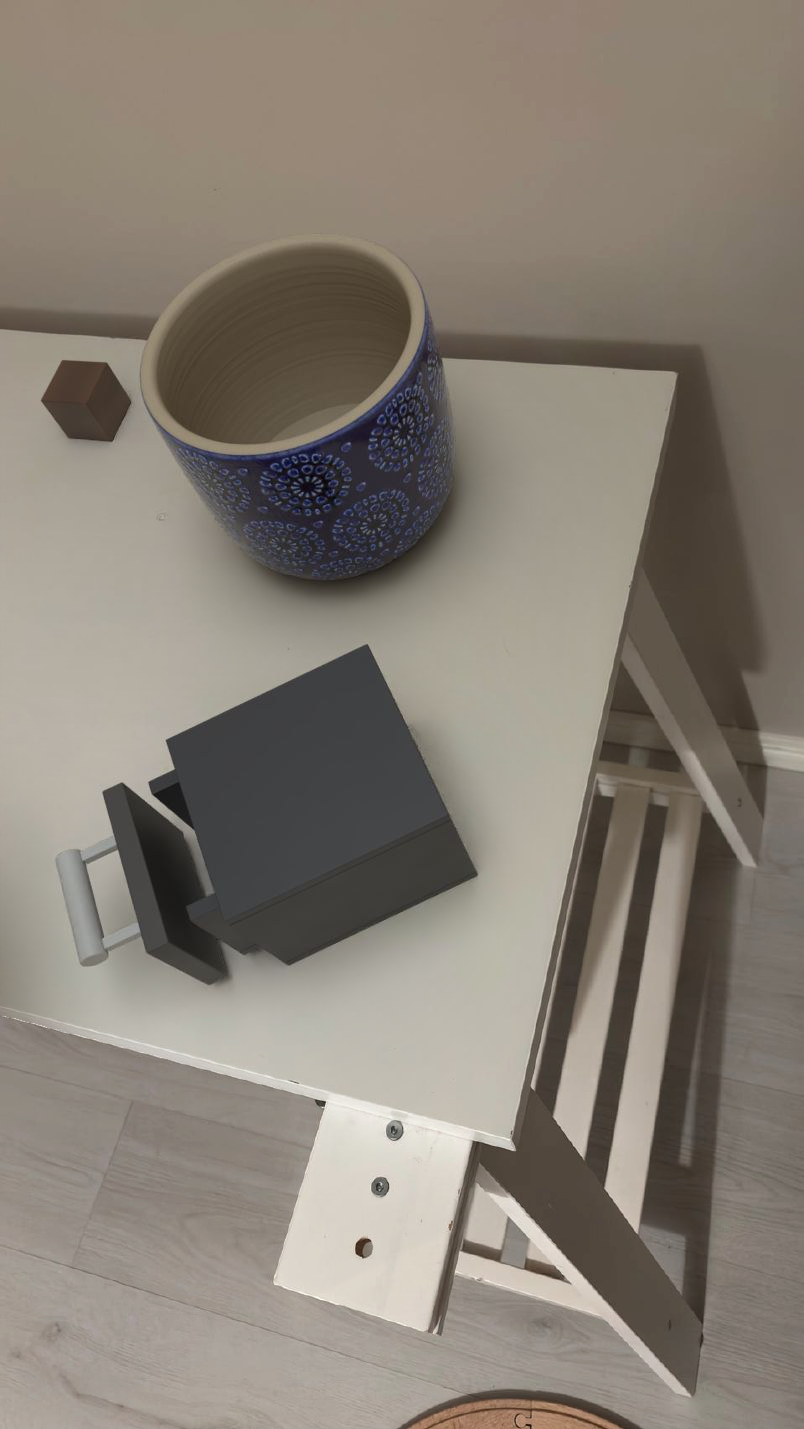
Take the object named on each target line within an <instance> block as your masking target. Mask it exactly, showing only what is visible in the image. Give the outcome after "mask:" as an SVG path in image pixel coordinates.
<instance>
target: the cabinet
mask: <svg viewBox="0 0 804 1429" xmlns="http://www.w3.org/2000/svg"><path fill="white" fill-rule="evenodd" d="M409 728H410V727H409V726H408V724H407V722H406V720H405V718H404V716H403V714H402V712H401V709H400V708H399V705H398V703H397V701H396V699H395V697H394V695H393V693H392V691H391V689H390V686H389V684H388V682H387V681H386V678H385V676H384V674H383V672H382V670H381V668H380V666H379V664H378V662H377V660H376V658H375V656H374V654H373V651H372V649H371V648H370V646H369V644H368V643H365V644H363V645H361V646H360V647H357V648H354V649H353V650H351V651H349V652H347V653H345V654H342V655H340V656H338V657H337V658H334V659H332V660H331V661H328V662H326V663H324V664H322V665H319V666H317V667H315V668H313V669H311V670H309V671H306V672H305V673H303V674H301V675H298V676H296V677H294V678H292V679H289V680H288V681H285V682H284V683H281V684H280V685H277V686H275V687H274V688H272V689H269V690H267V691H265V692H263V693H261V694H259V695H256V696H254V697H253V698H250V699H248V700H246V701H244V702H242V703H240V704H238V705H236V706H233V707H232V708H229V709H227V710H224V711H223V712H221V713H219V714H217V715H215V716H212V717H210V718H209V719H207V720H205V721H202V722H200V723H197V724H196V725H194V726H192V727H189V728H188V729H185V730H183V731H181V732H179V733H177V734H175V735H172V736H171V737H169V738H166V739H165V743H166V746H167V750H168V753H169V755H170V758H171V759H170V760H171V762H172V764H173V768H174V769H175V771H176V774H177V778H178V781H179V784H180V787H181V790H182V793H183V796H184V799H185V802H186V805H187V809H188V812H189V815H190V818H191V821H192V824H193V827H194V830H195V831H194V830H193V831H194V833H195V836H196V839H197V843H198V845H199V849H200V852H201V855H202V858H203V861H204V865H205V867H206V870H207V873H208V876H209V880H210V883H211V886H212V889H213V893H215V895H216V899H217V902H218V905H219V908H220V911H221V914H222V917H223V920H224V922H225V923H227V924H228V925H230V926H231V927H233V928H234V929H236V930H237V931H238V932H240V933H241V934H243V935H244V936H246V937H247V938H249V939H250V940H251V941H253V942H254V943H256V944H257V945H259V946H260V947H261V948H262V949H263V950H264V951H266V952H267V953H269V954H270V955H272V956H273V957H275V958H276V959H277V960H279V961H280V962H282V963H283V964H285V965H286V966H290V965H293V964H295V963H297V962H299V961H301V960H303V959H305V958H307V957H309V956H312V955H314V954H316V953H318V952H321V951H323V950H324V949H326V948H328V947H331V946H333V945H335V944H337V943H339V942H341V941H343V940H345V939H347V938H349V937H352V936H353V935H356V934H358V933H360V932H362V931H364V930H367V929H369V928H370V927H373V926H375V925H377V924H379V923H381V922H383V921H385V920H387V919H389V918H391V917H394V916H396V915H398V914H400V913H402V912H405V911H406V910H408V909H411V908H413V907H415V906H417V905H419V904H421V903H423V902H425V901H427V900H430V899H432V898H433V897H436V896H437V895H440V894H442V893H444V892H446V891H449V890H450V889H452V888H455V887H456V886H459V885H461V884H463V883H465V882H467V881H469V880H471V879H474V878H476V877H477V876H479V874H478V872H477V869H476V868H475V866H474V863H473V860H472V859H471V856H470V854H469V852H468V851H467V848H466V846H465V844H464V842H463V839H462V838H461V836H460V833H459V832H458V829H457V827H456V825H455V823H454V821H453V819H452V817H451V815H450V812H449V811H448V808H447V806H446V804H445V801H444V800H443V798H442V795H441V794H440V791H439V789H438V787H437V785H436V783H435V780H434V778H433V777H432V774H431V772H430V771H429V768H428V766H427V764H426V762H425V760H424V758H423V756H422V754H421V751H420V749H419V748H418V745H417V743H416V741H415V739H414V737H413V734H412V732H411V730H410V729H409Z"/></svg>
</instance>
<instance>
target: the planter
mask: <svg viewBox="0 0 804 1429" xmlns="http://www.w3.org/2000/svg"><path fill="white" fill-rule="evenodd" d="M141 355H142V356H141V360H140V366H139V387H140V393H141V397H142V400H143V404H144V406H145V409H146V410H147V413H148V414H149V417H150V418H151V420H152V422H153V424H154V426H155V428H156V430H157V432H158V433H159V435H160V437H161V439H162V440H163V442H164V443H165V445H166V448H168V450H169V452H170V453H171V455H172V457H173V458H174V459H175V462H176V464H177V465H178V467H179V468H180V470H181V471H182V473H183V474H184V477H185V478H186V479H187V481H188V482H189V484H190V485H191V487H192V488H193V489H194V491H195V493H196V494H197V496H198V497H199V498H200V500H201V502H202V503H203V505H204V506H205V507H206V509H207V510H208V512H209V513H210V514H211V515H212V517H213V518H214V520H215V521H216V522H217V524H218V525H219V526H220V527H221V528H222V529H223V531H224V532H225V533H226V534H227V535H228V537H229V538H230V539H231V540H232V541H233V543H235V545H236V546H238V547H239V548H240V549H241V550H242V551H243V552H244V553H245V554H247V555H248V556H250V557H251V558H252V559H253V560H255V561H256V562H258V563H259V564H261V565H263V566H264V567H266V568H269V569H270V570H272V571H275V572H278V573H280V574H284V575H287V576H291V577H294V578H300V579H304V580H314V581H315V580H316V581H331V580H342V579H349V578H353V577H359V576H361V575H364V574H368V573H370V572H373V571H376V570H378V569H380V568H382V567H384V566H386V565H387V564H390V563H391V562H393V561H395V560H396V559H398V558H399V557H401V556H402V555H404V554H405V553H406V552H407V551H409V550H410V549H411V548H412V547H414V546H415V544H416V543H418V542H419V541H420V540H421V538H423V537H424V535H425V534H426V533H427V532H428V531H429V530H430V528H431V527H432V526H433V524H434V523H435V522H436V520H437V519H438V517H439V515H440V513H441V511H442V509H443V508H444V505H445V503H446V502H447V499H448V497H449V494H450V492H451V488H452V486H453V481H454V476H455V468H456V459H457V458H456V457H457V446H456V445H457V444H456V436H455V435H456V434H455V423H454V416H453V409H452V402H451V397H450V391H449V388H448V382H447V378H446V377H447V376H446V372H445V366H444V363H443V357H442V354H441V349H440V346H439V341H438V338H437V332H436V329H435V325H434V321H433V317H432V314H431V310H430V307H429V305H428V301H427V298H426V295H425V291H424V289H423V286H422V284H421V282H420V280H419V279H418V277H417V275H416V274H415V272H414V271H413V270H412V268H411V267H410V266H409V265H408V263H406V262H405V260H403V259H402V258H401V257H400V256H398V255H397V254H396V253H394V252H393V251H391V250H390V249H388V248H386V247H384V246H382V245H380V244H378V243H376V242H373V241H371V240H368V239H364V238H362V237H358V236H357V237H356V236H353V235H348V234H340V233H330V232H329V233H328V232H327V233H323V232H320V233H315V232H314V233H301V234H295V235H289V236H283V237H280V238H275V239H272V240H267V241H265V242H261V243H259V244H255V245H253V246H249V247H247V248H245V249H242V250H240V251H238V252H236V253H234V254H232V255H230V256H228V257H227V258H224V259H222V260H221V261H219V262H218V263H216V264H215V265H213V266H211V267H209V268H208V269H206V270H205V271H204V272H202V273H201V274H200V275H198V276H197V277H196V278H194V279H193V280H192V281H191V282H190V283H189V284H188V285H187V286H185V287H184V288H182V290H181V291H180V292H179V293H178V294H177V295H176V296H175V297H174V298H173V300H171V302H169V304H168V305H167V306H166V307H165V309H164V310H163V312H162V313H161V315H160V316H159V317H158V319H157V321H156V322H155V324H154V326H153V327H152V330H151V331H150V333H149V336H148V338H147V340H146V342H145V345H144V349H143V352H142V354H141Z"/></svg>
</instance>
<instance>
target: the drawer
mask: <svg viewBox="0 0 804 1429" xmlns="http://www.w3.org/2000/svg"><path fill="white" fill-rule="evenodd" d="M147 783H148V787H149V790H150V794H151V795H152V796H153V797H154V798H155V799H156V800H158V801H159V802H160V803H161V804H162V805H163V806H165V807H166V808H167V809H168V810H169V811H171V812H172V814H174V815H176V817H177V818H179V820H181V821H182V822H184V824H186V825H187V826H189V828H191V829H192V830H193V831H194V832H195V830H194V827H193V824H192V821H191V818H190V815H189V812H188V809H187V805H186V802H185V799H184V796H183V793H182V790H181V787H180V784H179V781H178V778H177V774H176V771H175V768H174V769H171V770H170V771H168V772H166V773H164V774H161V775H160V776H157V777H155V778H153V779H152V780H149V781H148V782H147ZM101 793H102V796H103V800H104V805H105V809H106V812H107V815H108V820H109V822H110V827H111V829H112V834H113V835H111V836H109V837H107V838H104V839H103V840H100V841H99V842H97V843H95V844H92V845H90V846H88V847H86V848H84V849H78V848H71V849H67V850H64V851H62V852H60V853H58V854H57V855H56V857H55V860H54V861H55V865H56V869H57V873H58V877H59V881H60V886H61V890H62V894H63V899H64V902H65V906H66V911H67V915H68V920H69V923H70V928H71V931H72V932H71V933H72V936H73V940H74V946H75V949H76V953H77V956H78V961H79V962H78V963H79V965H81V966H82V967H95V966H97V965H100V964H102V963H104V962H105V961H106V960H108V959H109V957H110V954H109V952H112V951H113V950H116V949H118V948H119V947H122V946H125V945H126V944H128V943H130V942H133V941H135V940H137V939H139V938H141V939H142V943H143V947H144V949H145V953H146V954H148V955H149V956H151V957H154V958H155V959H157V960H159V961H161V962H163V963H164V964H166V965H169V966H171V967H172V968H174V969H176V970H178V971H180V972H182V973H183V974H185V975H188V976H190V977H192V978H194V979H196V980H198V981H199V982H201V983H203V984H205V985H207V986H211V985H213V984H216V983H218V982H219V981H221V980H224V979H225V978H227V977H228V976H229V974H228V971H227V967H226V965H225V962H224V959H223V955H222V953H221V949H220V946H219V942H218V940H219V941H221V942H222V943H224V944H226V945H227V946H229V947H230V948H232V949H233V950H234V951H236V952H238V953H240V954H241V955H242V956H246V955H248V954H250V953H253V952H255V951H257V950H259V949H261V948H262V947H260V946H259V945H257V944H256V943H254V942H253V941H251V940H250V939H249V938H247V937H246V936H244V935H243V934H241V933H240V932H238V931H237V930H236V929H234V928H233V927H231V926H230V925H228V924H227V923H225V922H224V920H223V917H222V914H221V911H220V908H219V905H218V902H217V899H216V895H215V892H213V893H210V894H209V895H207V896H205V897H204V895H203V892H202V889H201V885H200V882H199V879H198V876H197V872H196V870H195V866H194V863H193V860H192V857H191V854H190V851H189V847H188V844H187V841H186V838H185V835H184V834H185V833H184V832H183V830H182V829H180V828H179V827H178V826H177V825H175V824H174V823H173V822H172V821H170V820H169V819H168V818H166V816H164V815H163V814H162V813H161V812H159V811H158V810H157V809H156V808H154V807H153V806H152V805H151V804H150V803H149V802H147V801H146V800H145V799H144V798H143V797H141V796H140V795H139V794H137V793H136V792H135V791H134V790H132V788H130V787H129V786H128V785H126V784H125V783H124V782H123V781H122V782H119V783H117V784H114V785H112V786H111V787H108V788H106V789H104V790H103V791H102V792H101ZM116 851H117V852H118V855H119V860H120V863H121V866H122V870H123V873H124V878H125V882H126V884H127V888H128V891H129V896H130V898H131V903H132V906H133V910H134V914H135V917H136V922H135V921H134V923H131V924H129V925H127V926H125V927H123V928H121V929H118V930H117V931H114V932H112V933H111V934H108V935H106V936H105V934H104V930H103V926H102V921H101V917H100V915H99V910H98V906H97V902H96V899H95V895H94V890H93V887H92V882H91V879H90V874H89V871H88V866H87V865H88V864H91V863H93V862H95V861H98V860H99V859H101V858H104V857H106V856H107V855H110V854H112V853H114V852H116Z"/></svg>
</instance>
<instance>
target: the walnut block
mask: <svg viewBox="0 0 804 1429" xmlns="http://www.w3.org/2000/svg"><path fill="white" fill-rule="evenodd" d="M40 402H41V403H42V405H43V406H44V407H45V408H46V410H47V411H48V413H49V415H51V417H52V418H53V420H54V421H55V422H56V423H57V425H58V426H59V427H60V429H61V430H62V431H63V433H64V434H65V436H66V437H67V438H70V439H80V440H81V439H83V440H94V441H105V442H106V441H107V442H112V441H113V440H114V437H115V435H116V434H117V432H118V429H119V428H120V426H121V424H122V421H123V420H124V417H125V416H126V414H127V411H128V409H129V407H130V405H131V403H132V400H131V398H130V396H129V395H128V393H127V392H126V390H125V388H124V387H123V385H122V383H121V382H120V380H119V379H118V377H117V376H116V374H115V372H114V370H113V369H112V367H111V366H110V365H109V363H108V362H106V361H90V360H89V361H88V360H70V359H62V360H61V361H60V363H59V364H58V366H57V369H56V370H55V372H54V374H53V376H52V378H51V380H50V381H49V383H48V386H47V387H46V388H45V391H44V393H43V395H42V397H41V398H40Z"/></svg>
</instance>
